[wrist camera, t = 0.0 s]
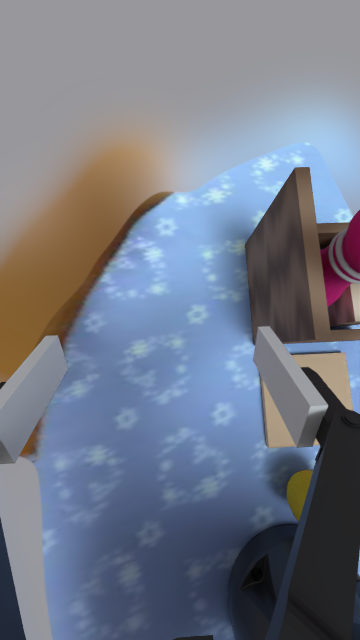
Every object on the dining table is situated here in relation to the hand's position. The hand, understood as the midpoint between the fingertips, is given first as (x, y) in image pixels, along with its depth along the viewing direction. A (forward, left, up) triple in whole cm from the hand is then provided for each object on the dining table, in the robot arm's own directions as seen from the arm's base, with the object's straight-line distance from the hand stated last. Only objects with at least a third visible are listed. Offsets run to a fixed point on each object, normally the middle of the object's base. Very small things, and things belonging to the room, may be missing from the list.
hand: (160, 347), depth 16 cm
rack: (+7, -18, -15) cm, 25 cm away
